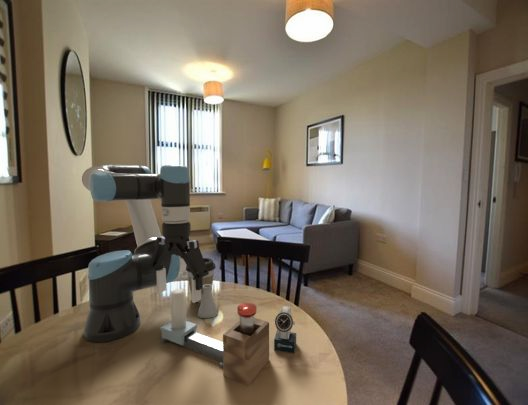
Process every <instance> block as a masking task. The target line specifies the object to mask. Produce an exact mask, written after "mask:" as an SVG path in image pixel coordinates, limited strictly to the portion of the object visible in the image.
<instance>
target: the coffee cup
mask: <svg viewBox="0 0 528 405" xmlns="http://www.w3.org/2000/svg"><path fill="white" fill-rule="evenodd" d="M203 259H204V262H205V264H206V267H207V269H208V272H209V274H208V275H206V276H204V277H203V278H202V282H203V285H205V284H210V285H212V286H213V283H214V274H215V269H216V263H215V262H214V260H213V259H211V258H209V257H203ZM185 265H186V264H185ZM185 271H186V272H187V277H188V278H187V279H188V284H189V285H188V286H189V292H190V298H191V299H192V278H194V276H193V275H192V273H191V271H190V270H189V268H188V266H187V265H186V266H185ZM197 273H198V272H197ZM211 292H212V293H213V287H212V288H211ZM203 293H204V289H203V287H202V289H201V300H199V301H197V302H198V303H197V304H201V302H202V298H203Z"/></svg>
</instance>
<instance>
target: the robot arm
mask: <svg viewBox="0 0 528 405" xmlns="http://www.w3.org/2000/svg"><path fill="white" fill-rule="evenodd" d="M159 172H160V173H152V170H150V168H149V167H148V166H145V165H138V164H134V165H133V164H130V165H129V164H111V163H110V164H109V163H108V164H107V163H106V164H105V163H104V164H97V165H93V166H91V167H89V168H87V169H86V170H85V171H84V172H83V174H82V176H81V183H82V185H83V187H84V188H85V189H86V190H88V191H89V192H90V195H91V198H92V200H93V201H95V202H113V201H114V202H115V201H125V203H126V206H127V209H128V215H129V218H130V222H131V226H132V230H133V235H134V237H135V238H134V239H135V241H136V245H137V246H136V248H135V249H134V253H132V252H131V251H130V250H129V249H126V250H125V249H123V250H114V251H110V252H106V253H104V254H100V255H98V256H96V257H95V258H93V259H91V261H89V263H88V267H87V270H88V271H87V279H88V295H89V311H88V313H87V317H86V321H85V324H84V326H83V337H84V339H85V340H87V341H89V342H93V343H105V342H111V341H115V340H118V339H121V338H124V337H126V336H127V335H130V334H131V333H133V332H134V331H136V330H137V329H138V328H139V327H140V324H141V316H140V312H139V310H138V307H137V305H136V303H135V300H134V292H136V291H137V292H138V291H141V290H145V289H149V288H154V287H156V293H157V294H161V293H163V292H165V291H167V284H168V283H172V282H175V281H176V280H177V278H178V276H179V274H180V268H181V259H183V261H184V263H185V265H187V266H188V268H189V270H190V271H191V273H192V275H193V276H194V278H192V298H191V303H193V304H195V303H196V302H197V301H199V300H201V289H202V287H203V282H202V278H203V277H204V276H206V275H208V274H209V272H208V269H207V267H206V264H205V262H204V259H203V258H204V257H203V254H202V252H201V249H200V243H199V240H198V239H194V240H190V238H189V237H190V235H191V233H192V232H191V230H192V229H191V221H190V220H191V204H190V202H191V200H190V198H191V196H190V195H191V194H190V193H191V192H190V188H191V187H190V186H191V185H190V181H191V177H190V170H189V168H188V167H187V165H178V164H173V165H172V164H170V165H169V164H168V165H167V164H165V165H161V167H160V171H159ZM152 200H161V206H160V207H161V220H162V221H163V223H162V224H161V230H160V226H159V223H158V220H157V217H156V214H155V211H154V206H153V205H152ZM197 272H198V273H197Z"/></svg>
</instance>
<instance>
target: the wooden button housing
mask: <svg viewBox="0 0 528 405" xmlns="http://www.w3.org/2000/svg"><path fill="white" fill-rule="evenodd" d="M222 342H223V367H222V371H223V372H222V373H223V376H224V377H227V378H229V379H232V380H233V381H236V382H238V383H240V384H243V385H245V386H248V387H250V385H251V384H252V383H253V381H254V380H255V378H256V377H257V376H258V375H259V374H260V372H261V371H262V370H263V368H264V366H266V364H267V363H268V362H269V360H270V322H269V321H267V320H263V319H261V318H260V319H259V318H256V317H254V333H253V334H252V335H251V336H249V335H245V334H242V333H240V320H238V321H237V322H236V323H235V324H233V326H231V327H230V328H229V329H228V330H227V331H225V332H224V333H223V334H222Z"/></svg>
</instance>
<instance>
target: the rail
mask: <svg viewBox="0 0 528 405" xmlns="http://www.w3.org/2000/svg"><path fill="white" fill-rule="evenodd" d="M160 342H161V343H162V344H165V343H167V342H171V343H173V344H176V345H178V346H181V347H183V348H186V349H188V350H191V351H194V352H195V353H199V354H200V355H203V356H206V357H208V358H210V359H213V360H215V361H218V362H219V364H218V365H219V367H220V368H223V341H221V340H218V339H215V338H212V337H210V336H207V335H204V334H201V333H198V332H197V331H196V332H193V331H191V332H190V333H189V334H187V335H186V336H184V345H180V344H178V343H175V342H173V341H170V340H168V339H165V338H163V337H161V339H160Z"/></svg>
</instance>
